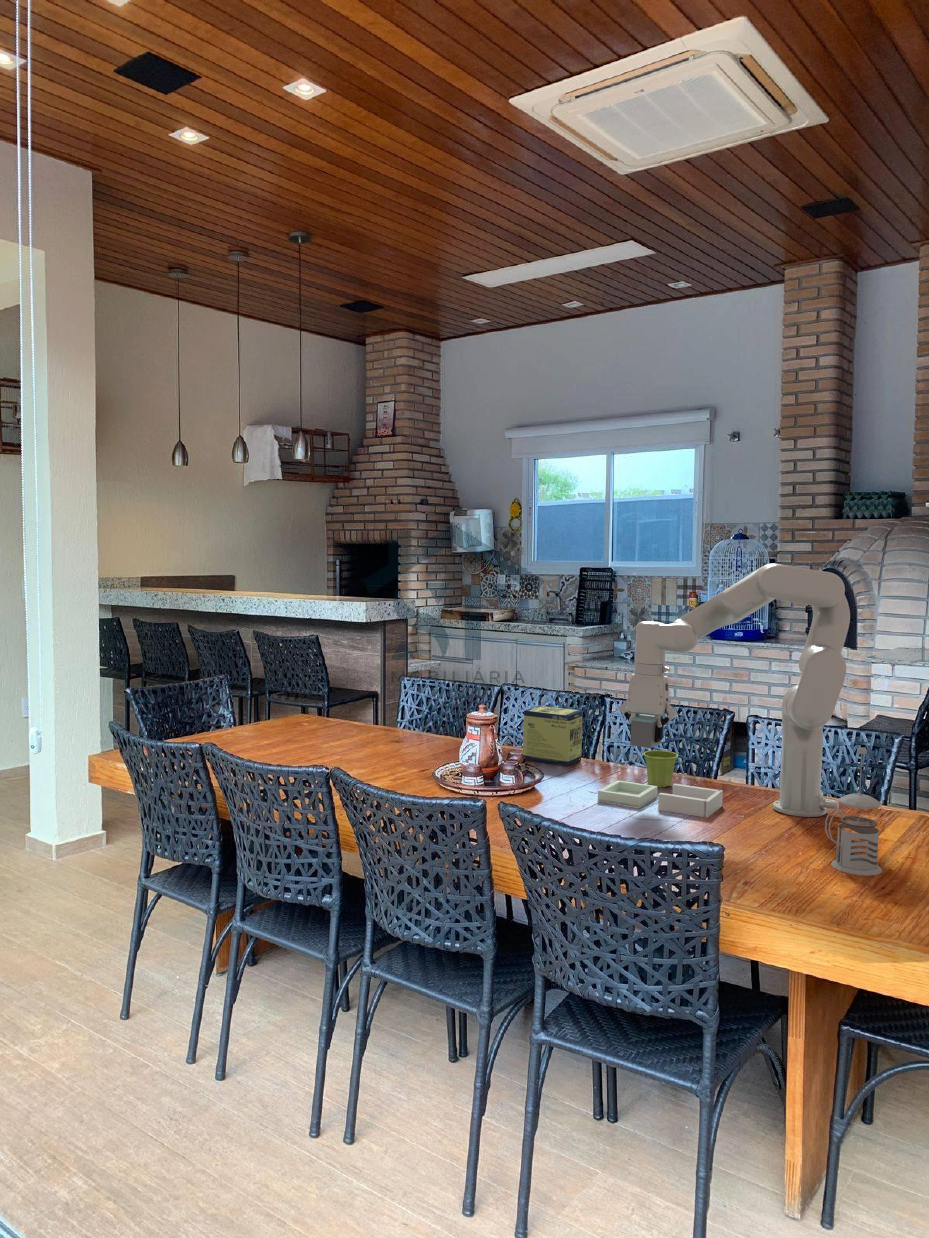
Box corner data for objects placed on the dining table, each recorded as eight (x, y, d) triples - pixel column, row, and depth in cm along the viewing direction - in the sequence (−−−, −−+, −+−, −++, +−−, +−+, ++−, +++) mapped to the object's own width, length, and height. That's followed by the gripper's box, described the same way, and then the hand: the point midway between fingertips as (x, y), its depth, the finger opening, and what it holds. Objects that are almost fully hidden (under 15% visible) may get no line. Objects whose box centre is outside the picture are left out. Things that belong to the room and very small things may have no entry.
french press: (892, 875, 188) (898, 752, 186) (836, 875, 187) (842, 752, 185) (867, 858, 197) (872, 742, 196) (814, 859, 197) (819, 742, 195)
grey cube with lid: (661, 742, 241) (662, 716, 241) (650, 748, 234) (652, 720, 234) (640, 739, 244) (642, 713, 243) (630, 745, 237) (631, 717, 236)
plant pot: (677, 790, 252) (678, 758, 251) (642, 788, 254) (642, 756, 253) (676, 781, 261) (677, 751, 261) (642, 779, 263) (643, 749, 262)
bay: (722, 805, 237) (722, 790, 237) (707, 817, 226) (708, 801, 226) (674, 798, 243) (674, 783, 243) (658, 809, 233) (658, 793, 232)
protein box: (568, 766, 278) (569, 715, 277) (521, 760, 286) (522, 709, 284) (582, 760, 287) (583, 710, 286) (536, 753, 295) (537, 705, 293)
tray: (657, 796, 245) (657, 786, 245) (639, 808, 234) (639, 797, 234) (616, 790, 251) (617, 780, 251) (597, 801, 240) (598, 790, 239)
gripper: (686, 671, 237) (683, 742, 238) (622, 665, 245) (619, 733, 247) (677, 674, 230) (674, 747, 231) (612, 668, 239) (608, 738, 240)
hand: (645, 739), depth 239 cm, fingers closed on grey cube with lid, 5 cm apart
